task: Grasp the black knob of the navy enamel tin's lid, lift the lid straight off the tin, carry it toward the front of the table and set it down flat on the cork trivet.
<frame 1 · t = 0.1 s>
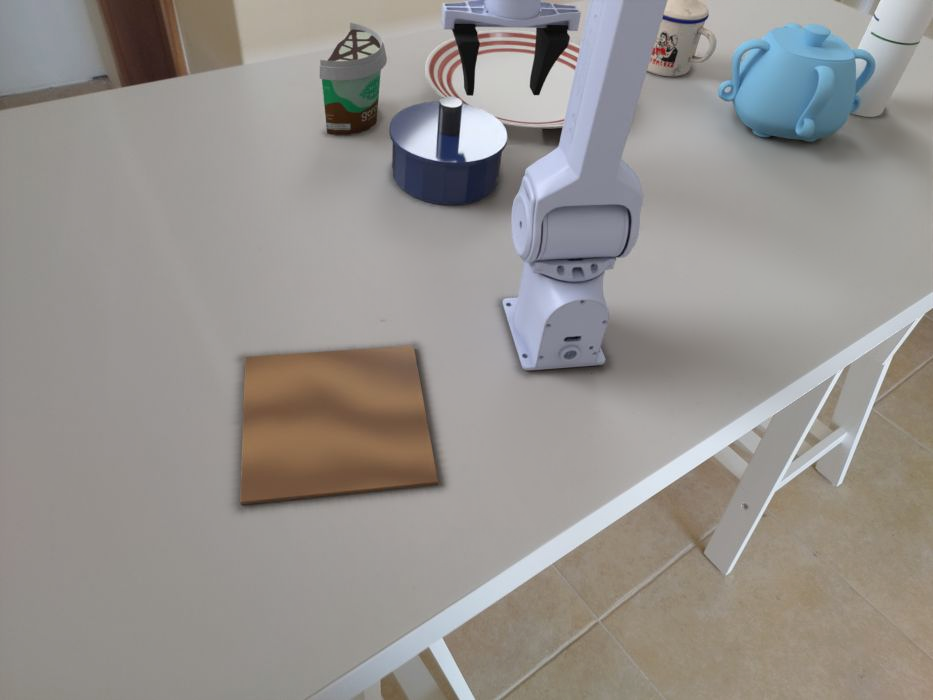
hand: (501, 91, 83), 10 cm above the table, tool pointing down, fingers open, 7 cm apart
food container: (361, 121, 96), on the table
trivet: (336, 418, 62), on the table
teacup with lid: (669, 69, 115), on the table
tin lid: (448, 134, 85), point 5 cm above the table, touching tin
tin: (445, 174, 89), on the table
decorative pot: (777, 124, 105), on the table
cylindrical container: (857, 106, 112), on the table
dinner plate: (520, 95, 105), on the table
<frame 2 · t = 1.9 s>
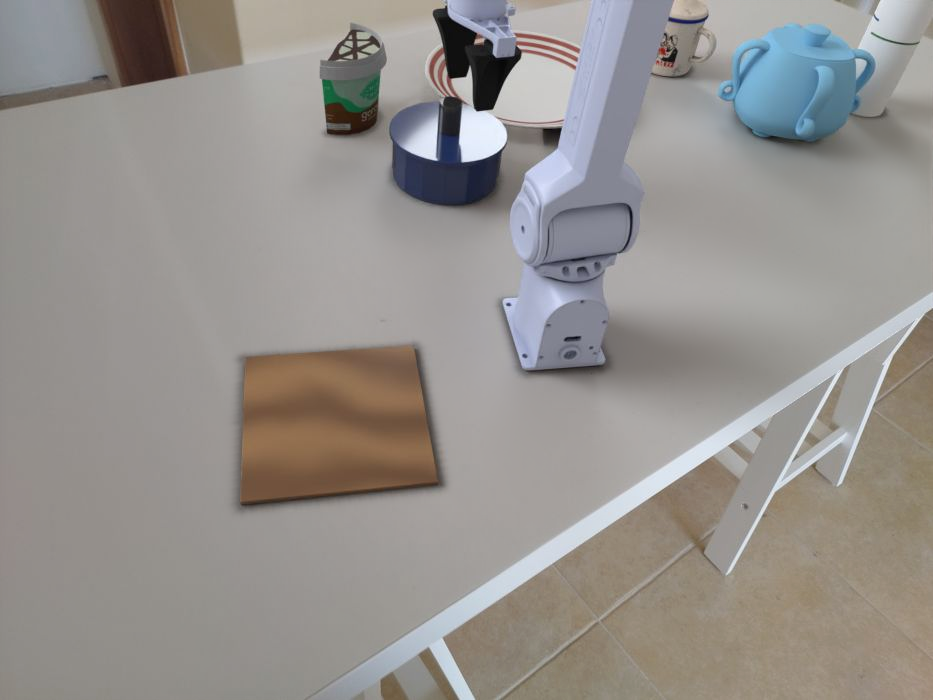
hand: (470, 92, 82), 10 cm above the table, tool pointing down, fingers open, 7 cm apart
nothing on the table moved.
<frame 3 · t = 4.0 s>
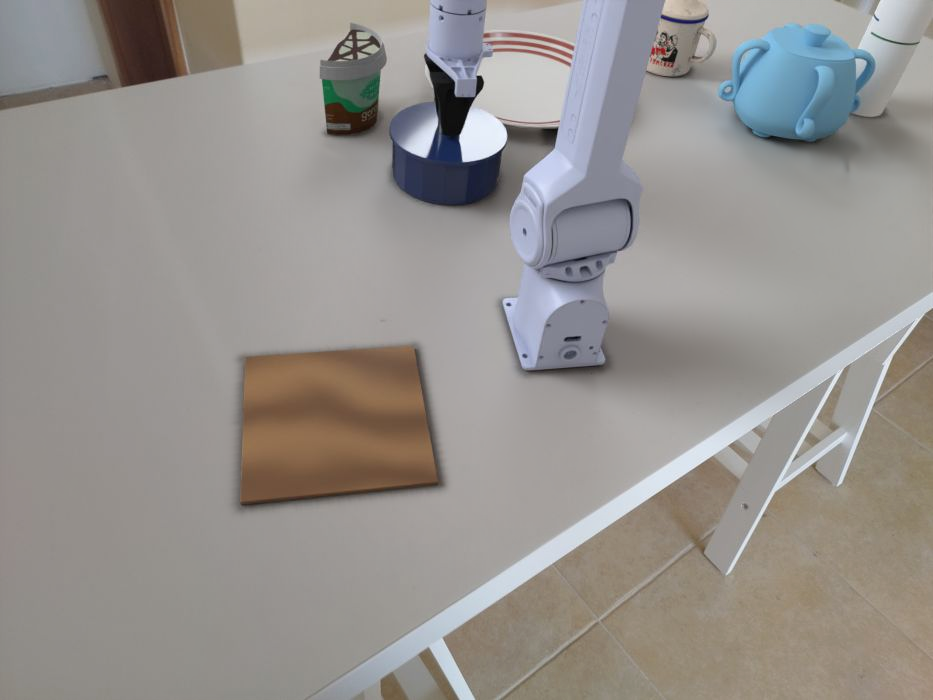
hand: (449, 126, 84), 6 cm above the table, tool pointing down, fingers closed on tin lid, 2 cm apart
tin lid: (448, 134, 85), point 5 cm above the table, touching gripper, tin
everything else where it was.
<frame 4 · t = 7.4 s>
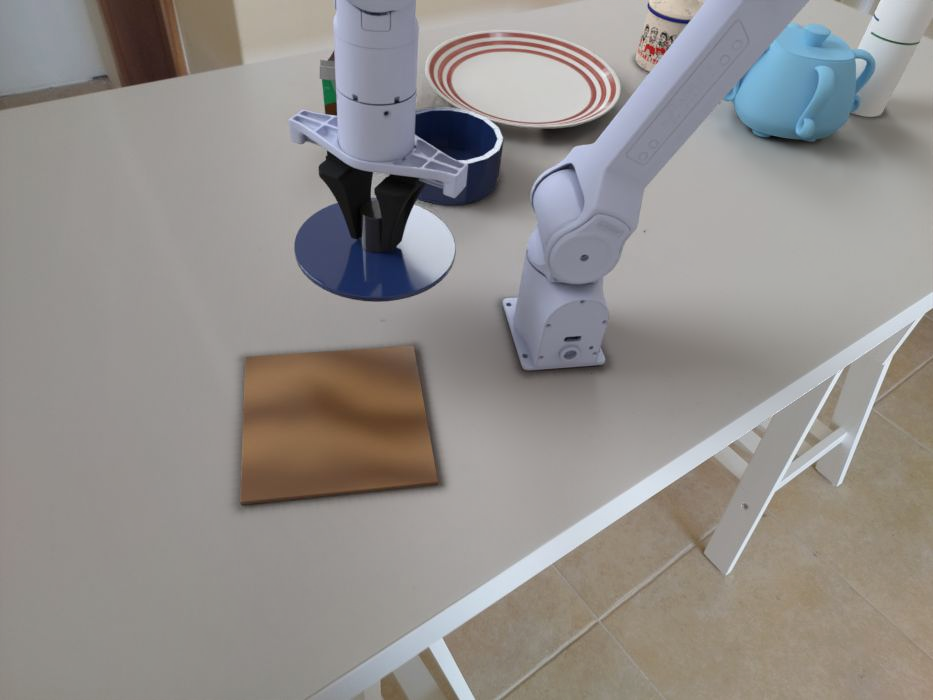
hand: (376, 238, 62), 10 cm above the table, tool pointing down, fingers closed on tin lid, 2 cm apart
tin lid: (376, 248, 63), point 9 cm above the table, touching gripper
everything else where it was.
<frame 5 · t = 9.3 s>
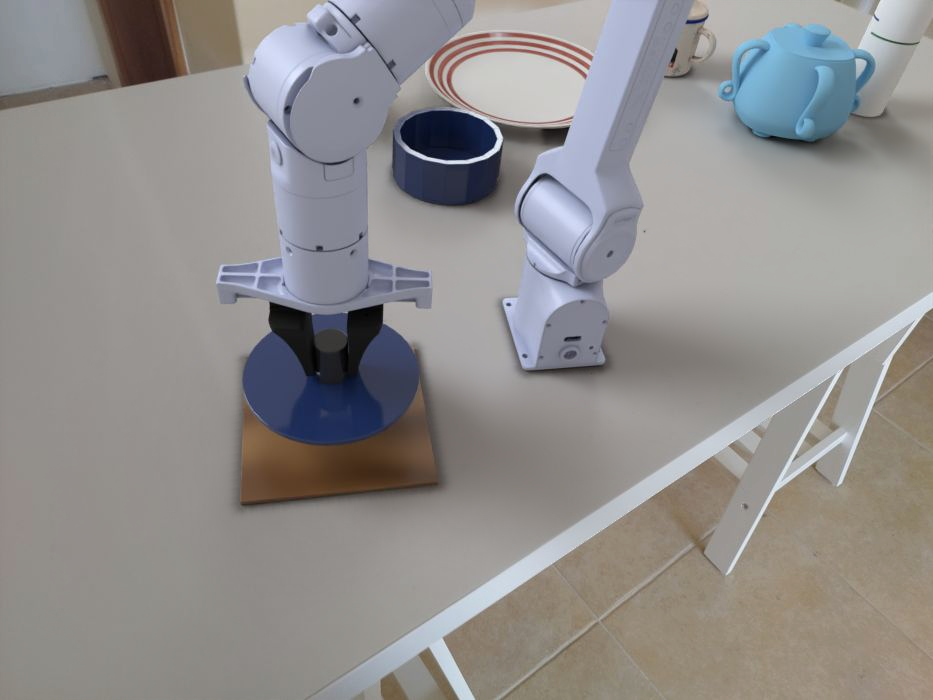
hand: (332, 367, 57), 6 cm above the table, tool pointing down, fingers closed on tin lid, 2 cm apart
tin lid: (332, 376, 58), point 5 cm above the table, touching gripper
everything else where it was.
when the fingers open (2 cm above the table, at t = 10.7 s): tin lid stays where it is, resting on trivet.
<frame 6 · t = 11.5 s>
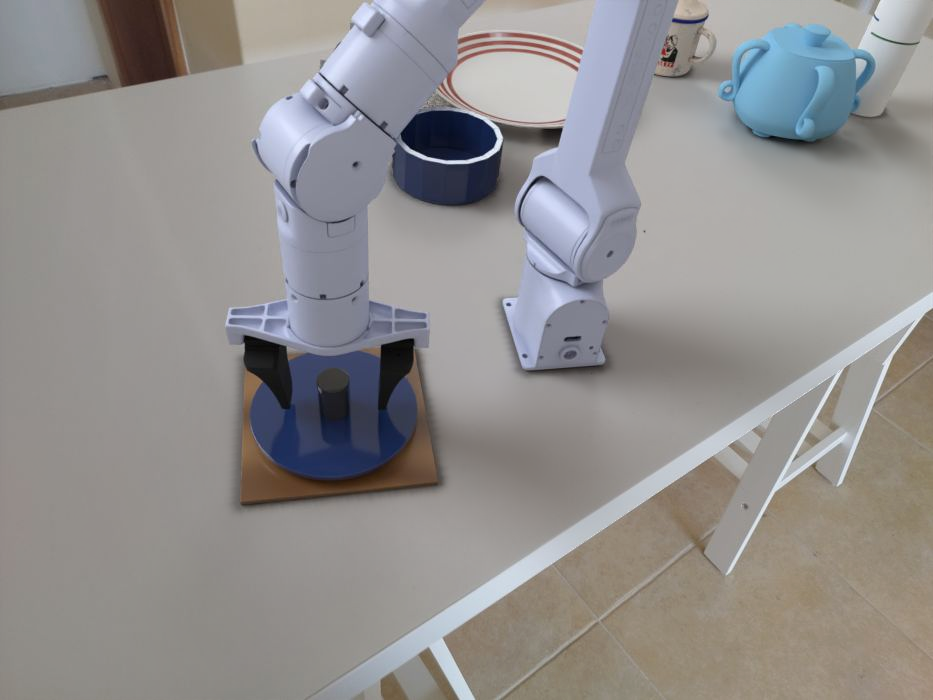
hand: (335, 400, 60), 2 cm above the table, tool pointing down, fingers open, 7 cm apart
tin lid: (335, 411, 61), point 1 cm above the table, touching trivet
everything else where it was.
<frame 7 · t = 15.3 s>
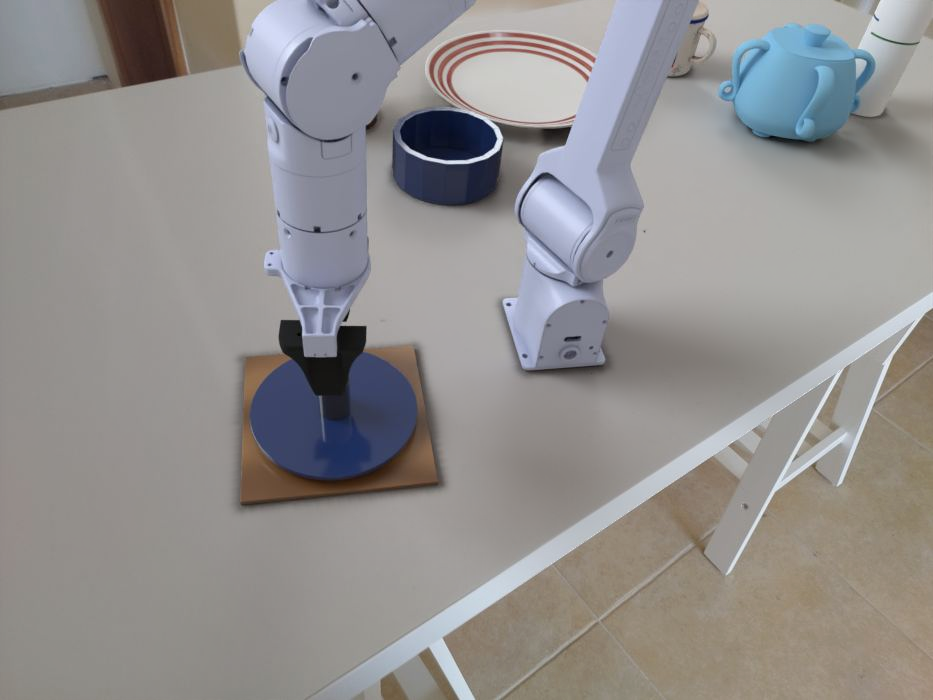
hand: (331, 353, 56), 8 cm above the table, tool pointing down, fingers open, 7 cm apart
nothing on the table moved.
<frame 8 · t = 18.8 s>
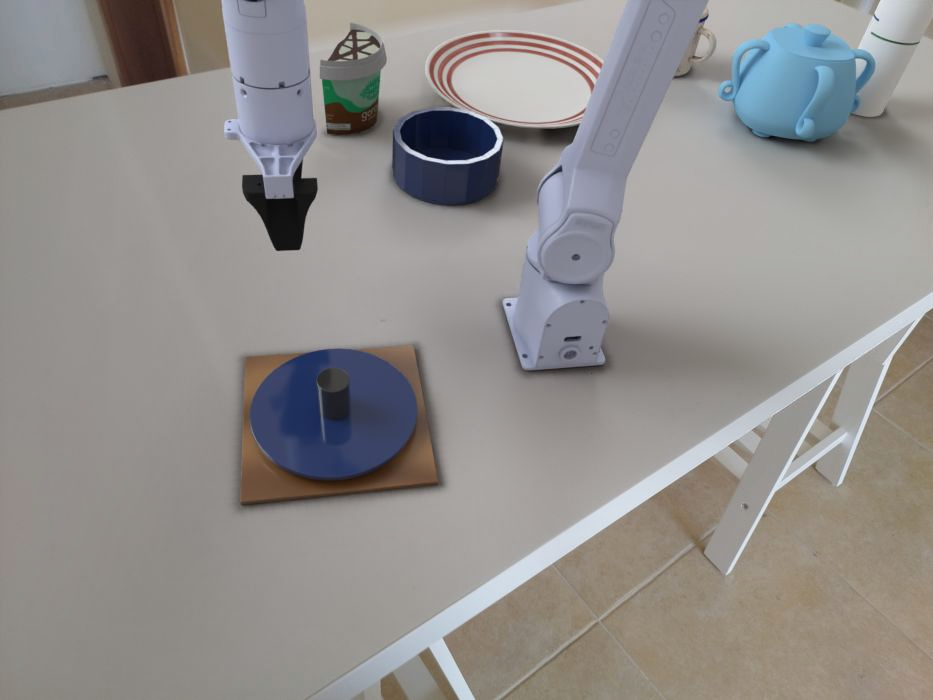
hand: (287, 220, 64), 9 cm above the table, tool pointing down, fingers open, 7 cm apart
nothing on the table moved.
at the end: tin lid inside the target area on the trivet (0.1 cm from its centre), point 1.0 cm above the trivet's base; tin lid point 1.0 cm above the table; tin lid tilted 0° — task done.
